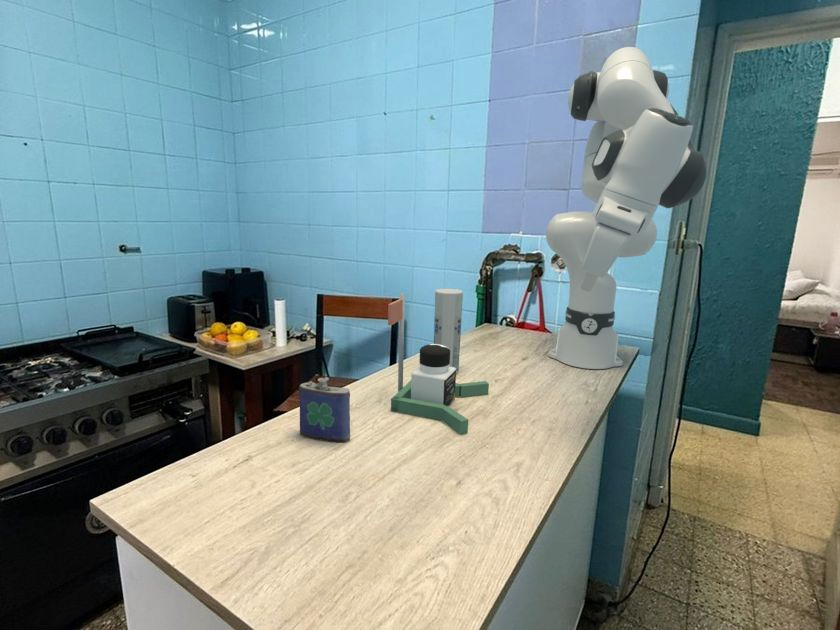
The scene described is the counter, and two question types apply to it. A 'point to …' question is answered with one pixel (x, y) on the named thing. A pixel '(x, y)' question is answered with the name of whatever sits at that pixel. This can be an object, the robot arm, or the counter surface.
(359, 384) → the counter surface
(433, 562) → the counter surface
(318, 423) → the flask
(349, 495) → the counter surface
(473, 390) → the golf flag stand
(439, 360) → the medicine bottle
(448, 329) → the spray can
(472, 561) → the counter surface
